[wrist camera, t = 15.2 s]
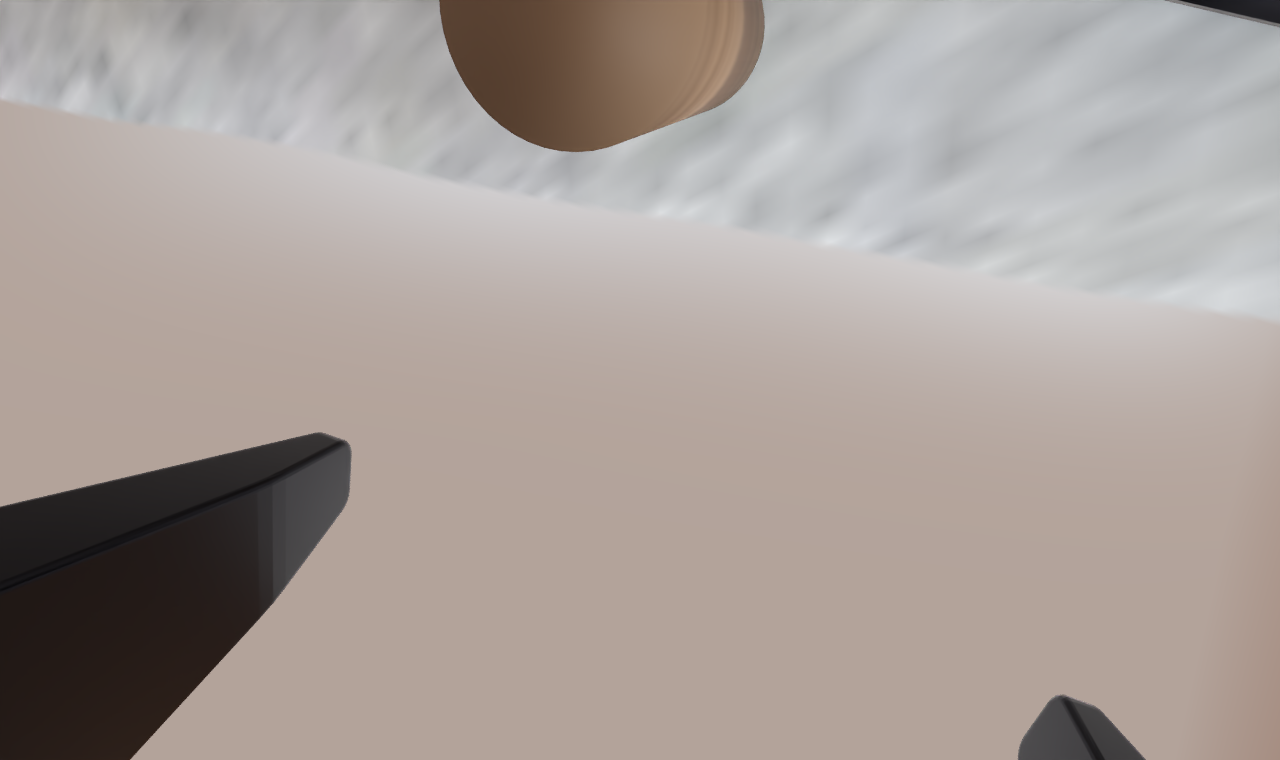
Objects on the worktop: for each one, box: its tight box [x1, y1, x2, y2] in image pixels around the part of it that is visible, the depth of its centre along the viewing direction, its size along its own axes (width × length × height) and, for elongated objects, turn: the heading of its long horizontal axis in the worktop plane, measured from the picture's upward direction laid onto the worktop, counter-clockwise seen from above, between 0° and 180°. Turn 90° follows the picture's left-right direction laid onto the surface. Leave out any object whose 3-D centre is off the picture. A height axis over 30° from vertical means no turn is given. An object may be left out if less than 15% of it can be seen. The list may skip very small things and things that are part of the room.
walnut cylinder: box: [439, 0, 764, 152], centre depth 14 cm, size 4×4×9 cm
